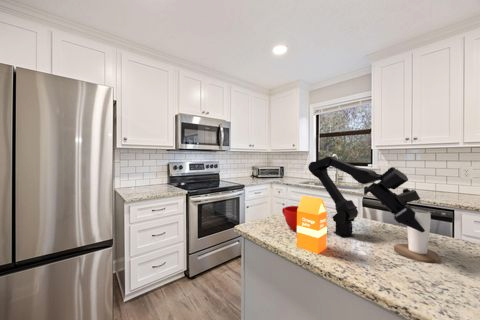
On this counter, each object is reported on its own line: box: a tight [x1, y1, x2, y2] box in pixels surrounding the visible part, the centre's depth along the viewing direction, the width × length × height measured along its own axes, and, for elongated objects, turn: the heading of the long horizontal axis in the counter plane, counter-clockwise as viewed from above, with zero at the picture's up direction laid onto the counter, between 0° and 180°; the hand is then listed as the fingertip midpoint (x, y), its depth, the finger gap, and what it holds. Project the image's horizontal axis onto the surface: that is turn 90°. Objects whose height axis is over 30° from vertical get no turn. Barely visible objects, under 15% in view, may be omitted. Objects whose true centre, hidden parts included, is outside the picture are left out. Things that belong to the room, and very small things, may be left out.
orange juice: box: [296, 195, 328, 255], centre depth 81 cm, size 8×9×20 cm
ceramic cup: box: [281, 205, 299, 232], centre depth 104 cm, size 13×17×10 cm
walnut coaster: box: [393, 243, 441, 264], centre depth 76 cm, size 13×13×1 cm
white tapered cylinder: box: [406, 208, 432, 254], centre depth 76 cm, size 7×7×15 cm
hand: (421, 228), depth 75 cm, fingers open, 7 cm apart
